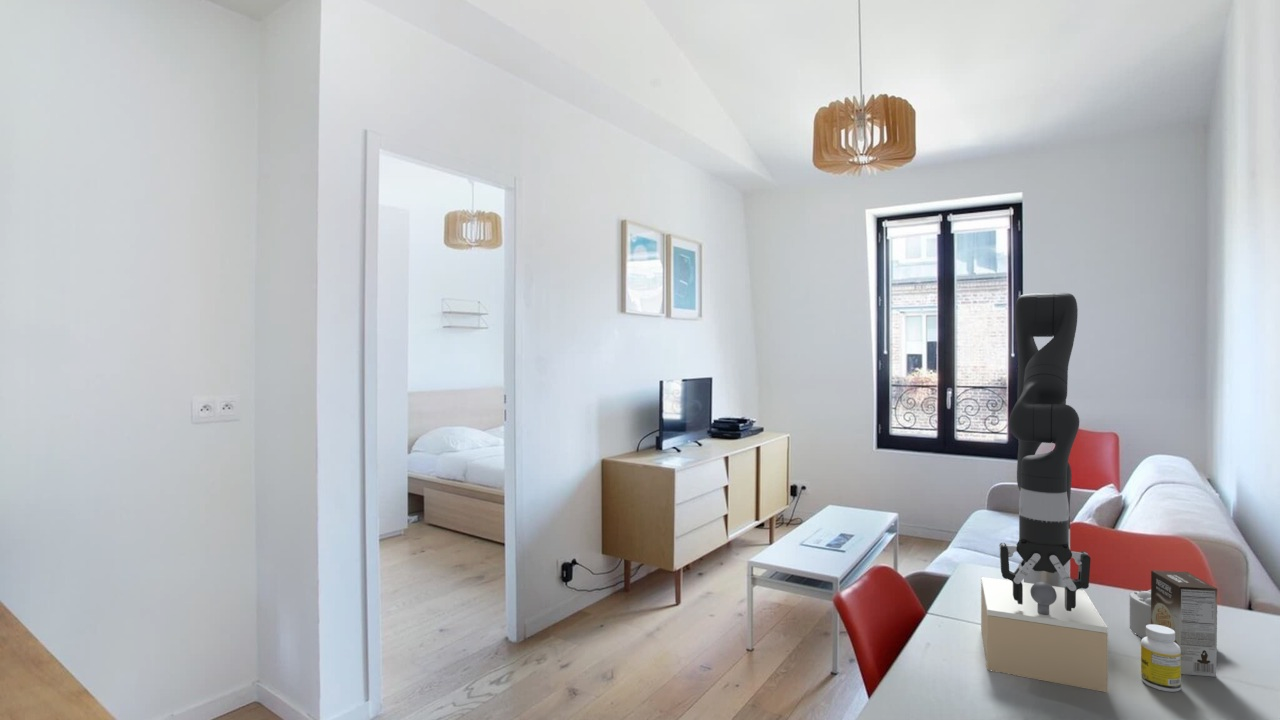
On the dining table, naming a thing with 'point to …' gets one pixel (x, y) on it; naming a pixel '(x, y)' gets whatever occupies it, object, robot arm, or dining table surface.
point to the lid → (1041, 605)
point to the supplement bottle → (1160, 659)
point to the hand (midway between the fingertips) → (1043, 606)
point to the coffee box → (1187, 618)
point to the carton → (1045, 651)
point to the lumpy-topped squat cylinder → (1140, 612)
